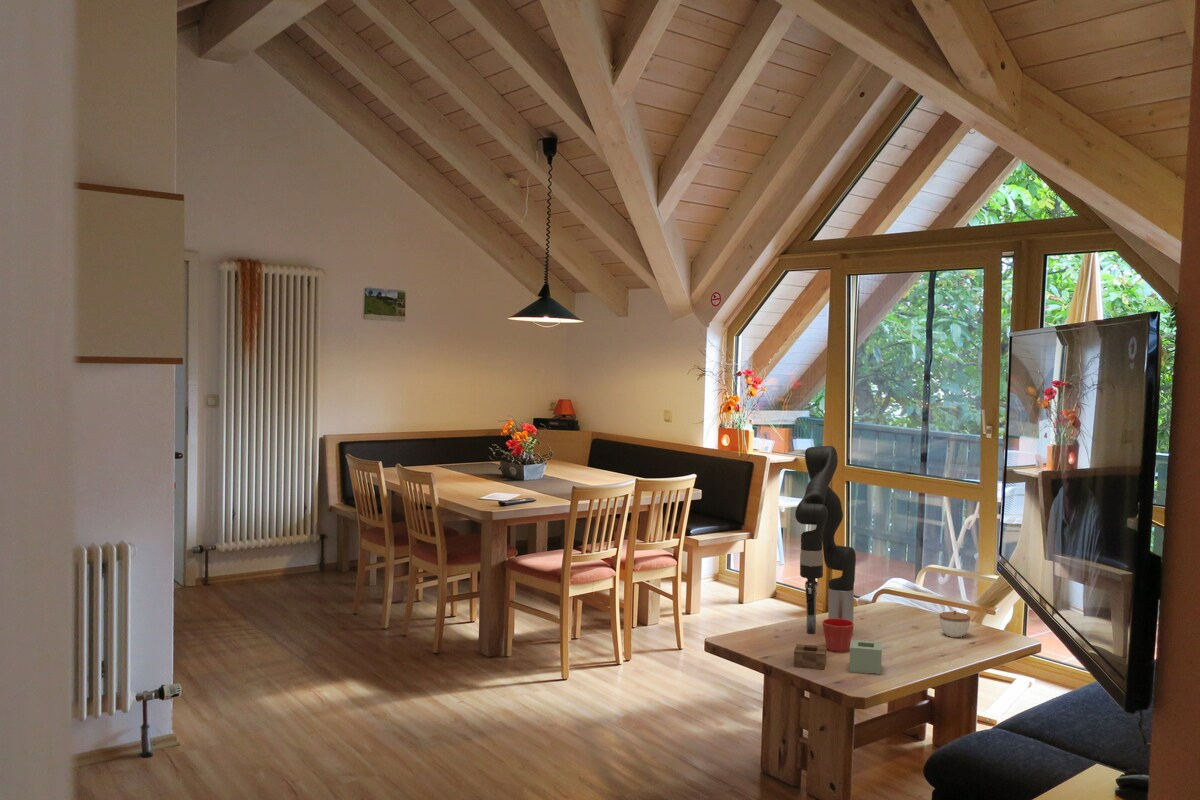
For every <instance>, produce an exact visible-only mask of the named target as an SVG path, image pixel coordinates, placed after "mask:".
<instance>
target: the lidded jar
mask: <svg viewBox="0 0 1200 800" xmlns="http://www.w3.org/2000/svg"><path fill="white" fill-rule="evenodd" d="M970 619H971V617H970V615H969V614H967V613H964V612H957V611H956V610H952V611H943V612H939V625H940V629H941V631H942V632H943V633H944V634H945V636H946V635H947V636H946V637H948V636H950V637H949V638H953V637H961V638H963V637H964V636H965V635H966V634H967V633H968V631H969V627H970ZM962 636H963V637H962Z"/></svg>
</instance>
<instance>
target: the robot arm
mask: <svg viewBox="0 0 1200 800" xmlns="http://www.w3.org/2000/svg"><path fill="white" fill-rule="evenodd" d="M804 460H805V465H806V466H805V467H806V470H807V473H808V477H809V482H808V483H807V485H806V488H805V491H804V492H805V493H804V496H803V498H801V500H800V502H799V503H798V505H797V507H796V509H795V513H794V514H795V515H794V516H795V520H796V521H797V522H798V523H799V524H800V525H808V526H809V525H812V526H816V528H814V529H812V530H806V531H803V532H802V533H801V535H800V554H799V576H800V577H801V578H804V579H806V580H805V582H804V588H805V597H806V599H805V600H806V615H807V614H808V615H814V604H815V597H816V598H817V595H818V585H819V584H818V583H819V582H818V581H817V580H816V579H822V578H823V576H824V564H825V565H826V568H828V569H829V570H835V571H842V573H841V576H839V577H835V578H831V579H830V580H829V581H828V604H827V605H828V607H827V608H828V609H827V610H828V614H827V615H828V618H827V619H832V618H837V619H846V620H849V621H852V622H853V623H854V610H855V609H854V604H855V603H854V601H855V600H854V599H855V598H854V597H855V596H854V595H855V594H854V592H855V591H854V588H855V587H854V586H855V580H856V564H857V563H856V562H857V561H856V560H857V556H856V551H855V549H854V547H851V546H845V545H838V544H836V542H835V536H836V532H837V530H838V528H839V527H840V525H841V523H842V522H843V517H844V512H843V508H842V507H843V506H842V502H841V499H840V497H839V495H838V494H837V493H836V492H835V491H834V490H833V489H832V488H831V487H830V483H831V481H832V480H833V477H834V474H835V472H836V470H837V467H838V463H839V461H838V452H837V450H836V448H835V447H834V446H832V445H822V446H821V445H820V446H819V445H818V446H810V447H807V448H806V450H805V452H804ZM814 592H815V594H814ZM809 598H812V600H809ZM853 635H854V631H853V632H852V636H853Z"/></svg>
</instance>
